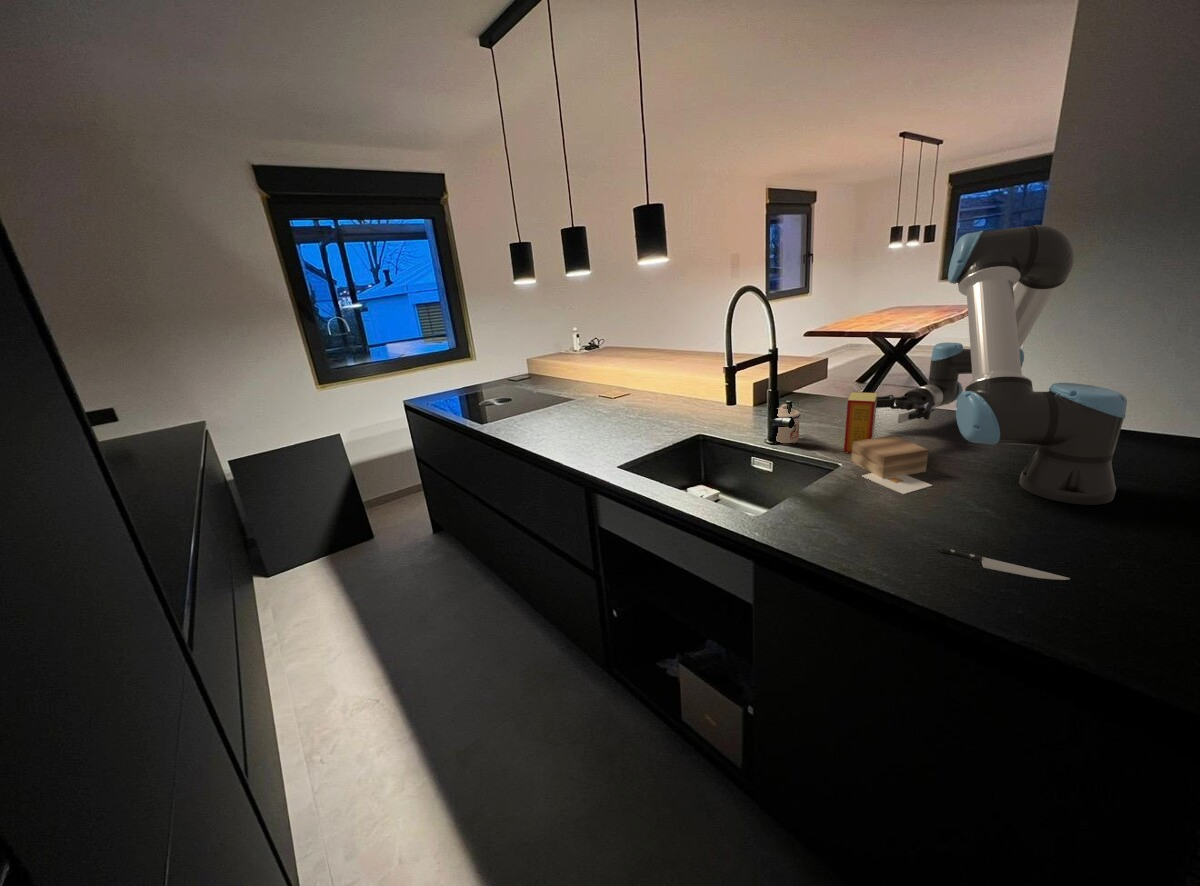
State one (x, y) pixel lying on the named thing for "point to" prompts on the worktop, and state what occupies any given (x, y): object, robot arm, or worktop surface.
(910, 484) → the page
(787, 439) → the teacup with lid
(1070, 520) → the worktop surface
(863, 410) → the baking soda box
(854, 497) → the worktop surface
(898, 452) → the base brick
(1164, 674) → the worktop surface
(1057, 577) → the chef's knife
